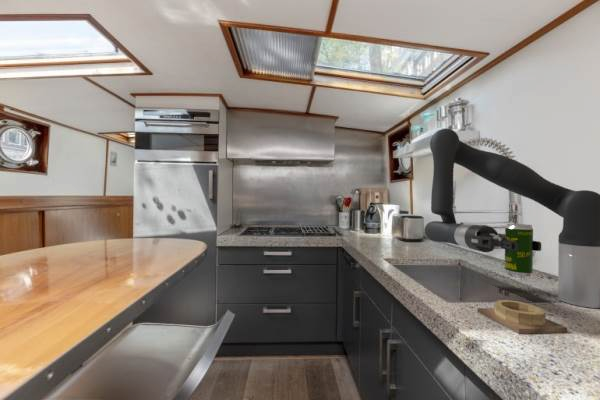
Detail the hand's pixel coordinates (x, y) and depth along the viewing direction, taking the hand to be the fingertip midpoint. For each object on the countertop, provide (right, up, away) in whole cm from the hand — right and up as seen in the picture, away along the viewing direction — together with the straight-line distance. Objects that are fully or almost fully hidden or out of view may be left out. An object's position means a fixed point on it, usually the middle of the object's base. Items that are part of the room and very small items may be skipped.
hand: (528, 246), depth 65 cm
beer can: (0, -7, +2) cm, 8 cm away
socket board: (-1, -19, +2) cm, 19 cm away
